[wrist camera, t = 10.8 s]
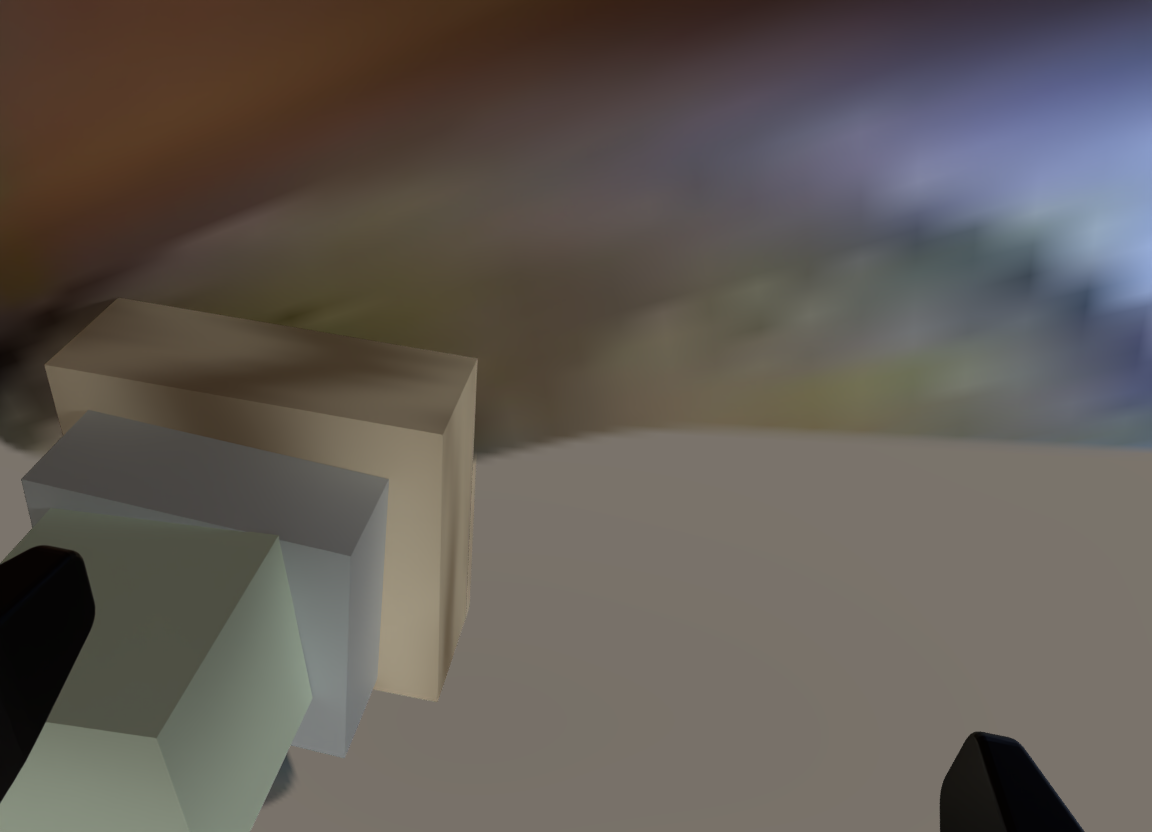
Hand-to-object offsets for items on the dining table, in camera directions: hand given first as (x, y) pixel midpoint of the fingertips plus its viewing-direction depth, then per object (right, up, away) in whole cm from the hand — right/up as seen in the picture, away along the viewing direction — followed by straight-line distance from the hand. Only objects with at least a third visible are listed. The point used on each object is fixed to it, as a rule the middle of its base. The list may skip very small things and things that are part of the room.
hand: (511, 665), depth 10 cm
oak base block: (-7, +1, +17) cm, 18 cm away
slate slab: (-8, -1, +14) cm, 16 cm away
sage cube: (-8, -2, +12) cm, 14 cm away
